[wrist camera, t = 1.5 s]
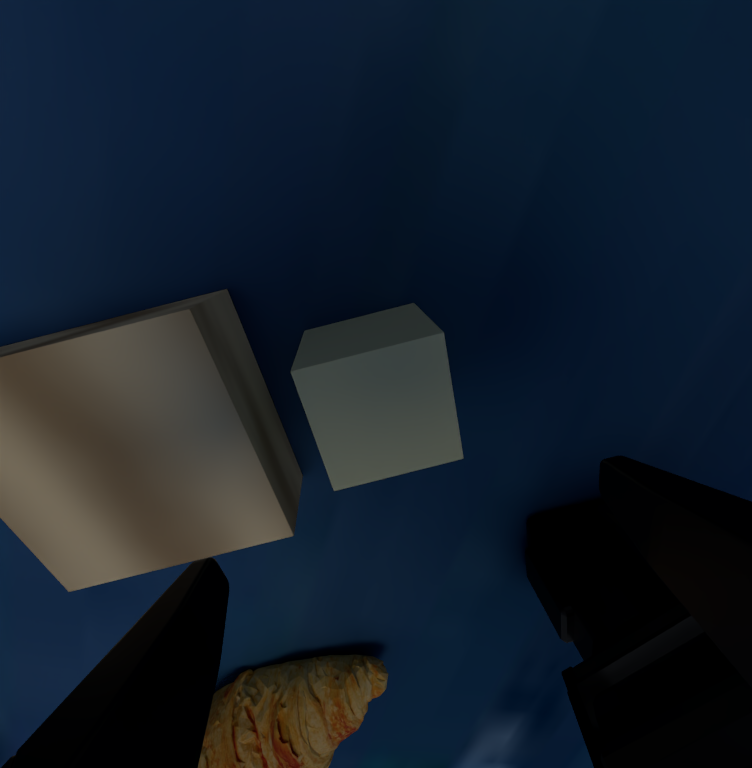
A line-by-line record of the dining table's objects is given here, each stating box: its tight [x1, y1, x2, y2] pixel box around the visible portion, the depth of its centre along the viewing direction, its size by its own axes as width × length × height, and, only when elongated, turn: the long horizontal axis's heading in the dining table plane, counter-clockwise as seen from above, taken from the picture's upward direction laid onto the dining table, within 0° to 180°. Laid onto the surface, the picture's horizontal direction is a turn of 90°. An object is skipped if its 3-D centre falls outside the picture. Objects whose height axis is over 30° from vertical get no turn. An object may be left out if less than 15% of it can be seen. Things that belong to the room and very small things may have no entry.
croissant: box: [198, 654, 388, 768], centre depth 25 cm, size 21×10×8 cm, turn 125°
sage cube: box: [290, 303, 464, 491], centre depth 14 cm, size 5×5×5 cm
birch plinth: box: [0, 289, 303, 592], centre depth 15 cm, size 10×10×4 cm
